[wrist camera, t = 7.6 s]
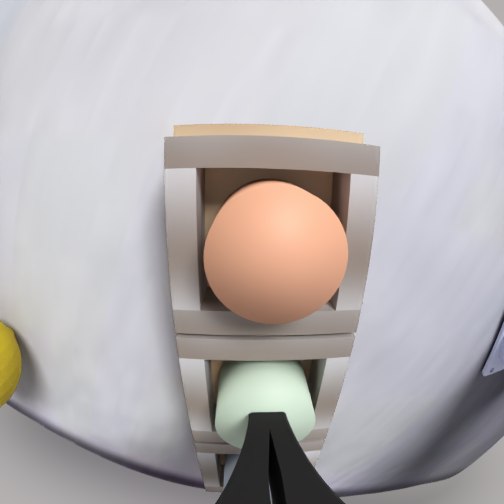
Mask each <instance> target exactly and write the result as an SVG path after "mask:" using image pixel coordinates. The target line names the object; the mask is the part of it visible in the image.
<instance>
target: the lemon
mask: <svg viewBox="0 0 504 504" xmlns="http://www.w3.org/2000/svg"><path fill="white" fill-rule="evenodd" d="M21 370H22V359H21V353H20V349H19V346H18V343H17V341H16V339H15V334H14V331H13V330H12V329H11V328H9V327H7V326H6V325H5V324H4V323H3V322H1V321H0V407H1V406H2V405H4V404H5V403H6V402H7V401H8V400H9V398H10V397H11V396H12V394H13V393H14V391H15V389H16V387H17V385H18V382H19V379H20V376H21Z"/></svg>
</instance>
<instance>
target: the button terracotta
mask: <svg viewBox="0 0 504 504" xmlns="http://www.w3.org/2000/svg"><path fill="white" fill-rule="evenodd" d="M347 263H348V243H347V238H346V234H345V231H344V228H343V226H342V224H341V222H340V220H339V218H338V217H337V216H336V214H335V213H334V211H333V210H332V209H331V208H330V207H329V206H328V205H327V204H326V203H325V202H323V201H322V200H321V199H319V198H318V197H316V196H314V195H313V194H311V193H309V192H307V191H305V190H303V189H302V188H300V187H298V186H296V185H294V184H292V183H289V182H287V181H283V180H279V179H259V180H255V181H252V182H249V183H247V184H244V185H242V186H241V187H239V188H238V189H236V190H235V191H234V192H233V193H231V194H230V195H229V196H228V198H227V199H226V200H225V201H224V203H223V204H222V206H221V208H220V210H219V212H218V214H217V216H216V218H215V220H214V222H213V224H212V226H211V228H210V230H209V232H208V235H207V238H206V241H205V247H204V269H205V273H206V277H207V280H208V282H209V285H210V287H211V289H212V290H213V292H214V294H215V295H216V296H217V298H218V299H219V300H220V301H221V302H222V303H223V304H224V305H225V306H226V307H227V308H228V309H230V310H231V311H232V312H234V313H235V314H237V315H239V316H241V317H243V318H245V319H248V320H251V321H254V322H258V323H264V324H283V323H289V322H293V321H296V320H300V319H302V318H304V317H307V316H309V315H310V314H312V313H314V312H316V311H317V310H318V309H320V308H321V307H322V306H323V305H325V304H326V303H327V302H328V301H329V300H330V299H331V297H332V296H333V295H334V294H335V292H336V291H337V289H338V288H339V286H340V284H341V282H342V280H343V277H344V275H345V272H346V268H347Z"/></svg>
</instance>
